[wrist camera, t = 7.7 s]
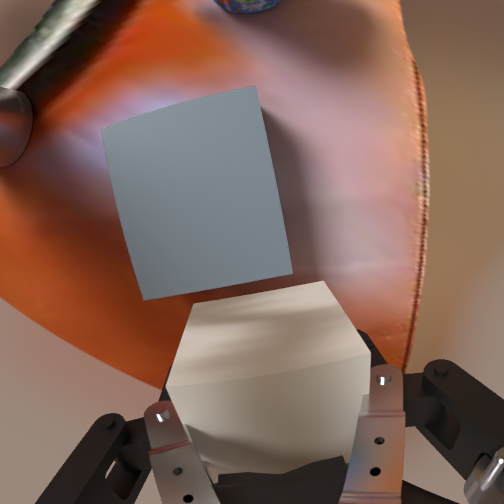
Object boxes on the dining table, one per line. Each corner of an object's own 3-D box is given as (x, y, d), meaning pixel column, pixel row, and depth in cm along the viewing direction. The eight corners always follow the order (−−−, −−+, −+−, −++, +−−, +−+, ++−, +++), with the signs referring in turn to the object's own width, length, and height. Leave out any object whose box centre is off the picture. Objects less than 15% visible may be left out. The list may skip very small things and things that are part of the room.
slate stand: (163, 276, 30) (143, 300, 24) (129, 135, 26) (101, 129, 20) (285, 252, 29) (293, 273, 23) (255, 103, 25) (255, 85, 20)
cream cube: (222, 399, 14) (215, 488, 9) (193, 303, 13) (165, 386, 8) (331, 381, 14) (362, 464, 9) (323, 280, 13) (370, 352, 7)
